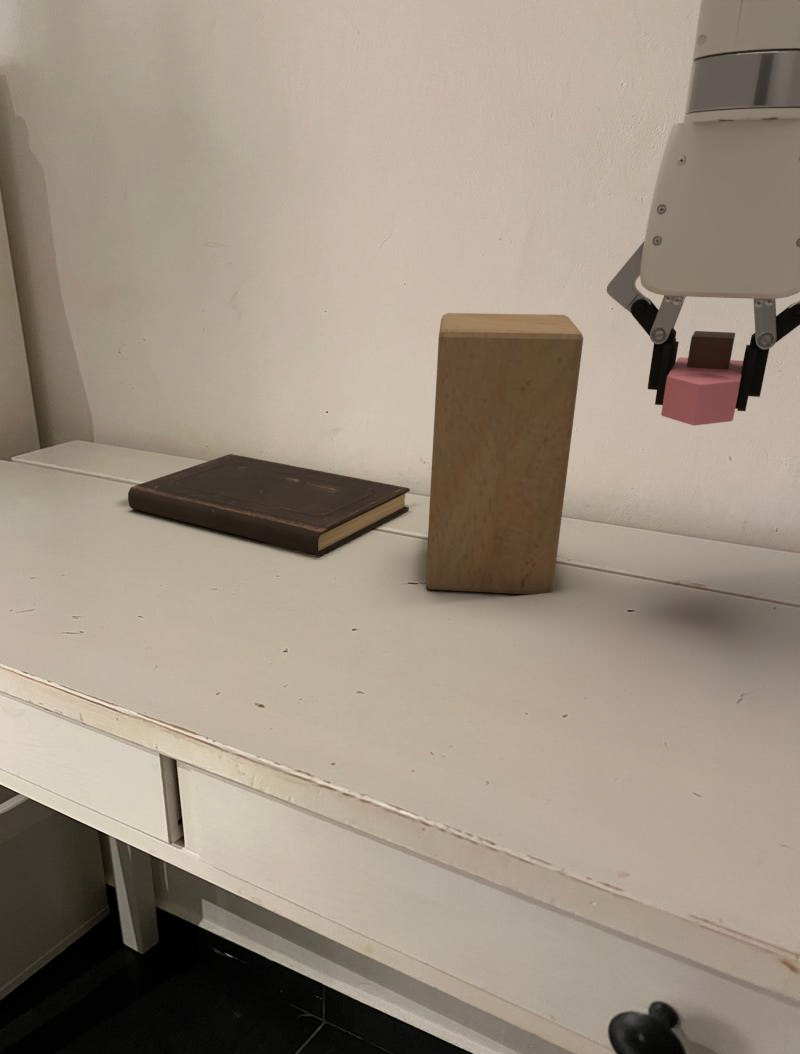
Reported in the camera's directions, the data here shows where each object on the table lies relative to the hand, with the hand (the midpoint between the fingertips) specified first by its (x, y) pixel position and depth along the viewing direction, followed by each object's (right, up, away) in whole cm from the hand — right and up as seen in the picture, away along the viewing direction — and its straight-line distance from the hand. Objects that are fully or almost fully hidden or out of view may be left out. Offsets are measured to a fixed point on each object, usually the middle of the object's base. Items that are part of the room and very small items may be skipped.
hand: (701, 401), depth 63 cm
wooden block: (-12, -11, +14) cm, 22 cm away
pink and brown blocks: (0, -1, -1) cm, 1 cm away
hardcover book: (-31, -4, +29) cm, 43 cm away
